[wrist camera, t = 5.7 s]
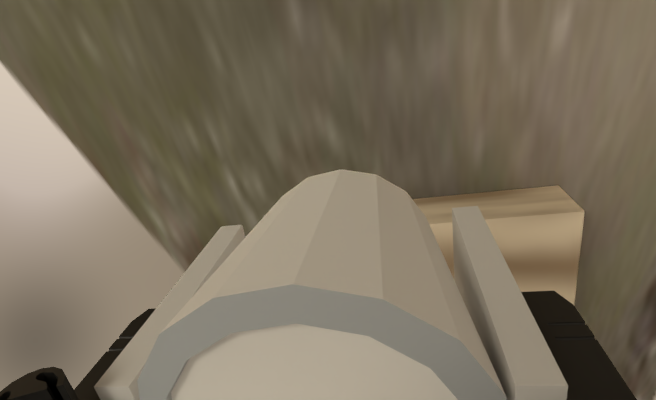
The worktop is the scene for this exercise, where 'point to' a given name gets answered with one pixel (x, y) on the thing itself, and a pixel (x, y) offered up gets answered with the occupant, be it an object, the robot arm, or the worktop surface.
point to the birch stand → (521, 233)
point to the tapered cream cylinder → (327, 308)
